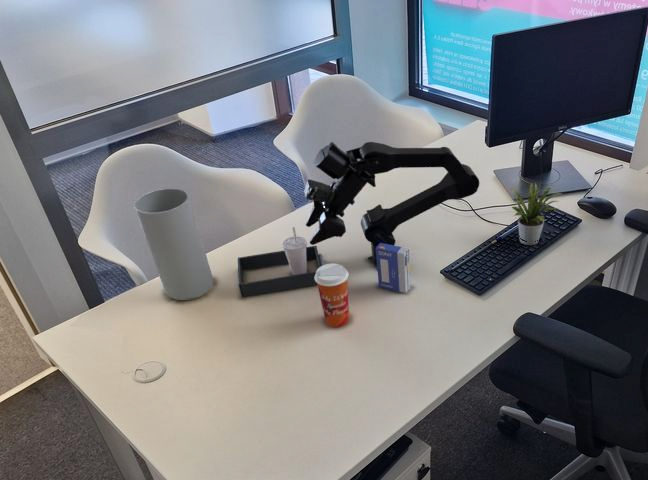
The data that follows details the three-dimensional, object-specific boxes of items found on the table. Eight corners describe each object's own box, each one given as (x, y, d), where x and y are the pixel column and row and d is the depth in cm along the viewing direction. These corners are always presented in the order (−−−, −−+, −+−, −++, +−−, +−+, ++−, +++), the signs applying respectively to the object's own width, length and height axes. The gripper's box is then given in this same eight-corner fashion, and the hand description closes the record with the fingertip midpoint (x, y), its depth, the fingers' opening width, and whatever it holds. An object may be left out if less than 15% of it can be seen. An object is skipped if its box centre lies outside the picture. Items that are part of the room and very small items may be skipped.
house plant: (569, 248, 168) (577, 193, 157) (524, 260, 164) (530, 204, 153) (541, 224, 178) (547, 171, 167) (498, 235, 174) (502, 181, 164)
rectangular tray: (322, 257, 170) (320, 244, 167) (328, 283, 160) (326, 271, 157) (240, 270, 167) (237, 257, 164) (242, 298, 157) (238, 285, 154)
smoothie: (310, 280, 161) (302, 234, 152) (285, 281, 162) (276, 234, 152) (313, 267, 166) (305, 221, 157) (289, 267, 166) (280, 221, 157)
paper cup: (324, 333, 145) (316, 283, 135) (319, 314, 150) (311, 265, 141) (357, 326, 146) (351, 277, 137) (350, 307, 152) (344, 259, 142)
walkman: (378, 287, 158) (375, 247, 150) (383, 281, 160) (380, 241, 152) (406, 293, 155) (404, 252, 147) (411, 287, 157) (409, 247, 149)
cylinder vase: (222, 277, 164) (198, 190, 148) (199, 304, 155) (170, 215, 139) (181, 271, 167) (153, 186, 151) (156, 298, 158) (123, 210, 142)
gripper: (316, 154, 154) (280, 201, 159) (325, 187, 140) (285, 236, 146) (350, 179, 160) (314, 223, 166) (363, 212, 146) (323, 259, 152)
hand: (309, 234), depth 157 cm, fingers open, 9 cm apart
